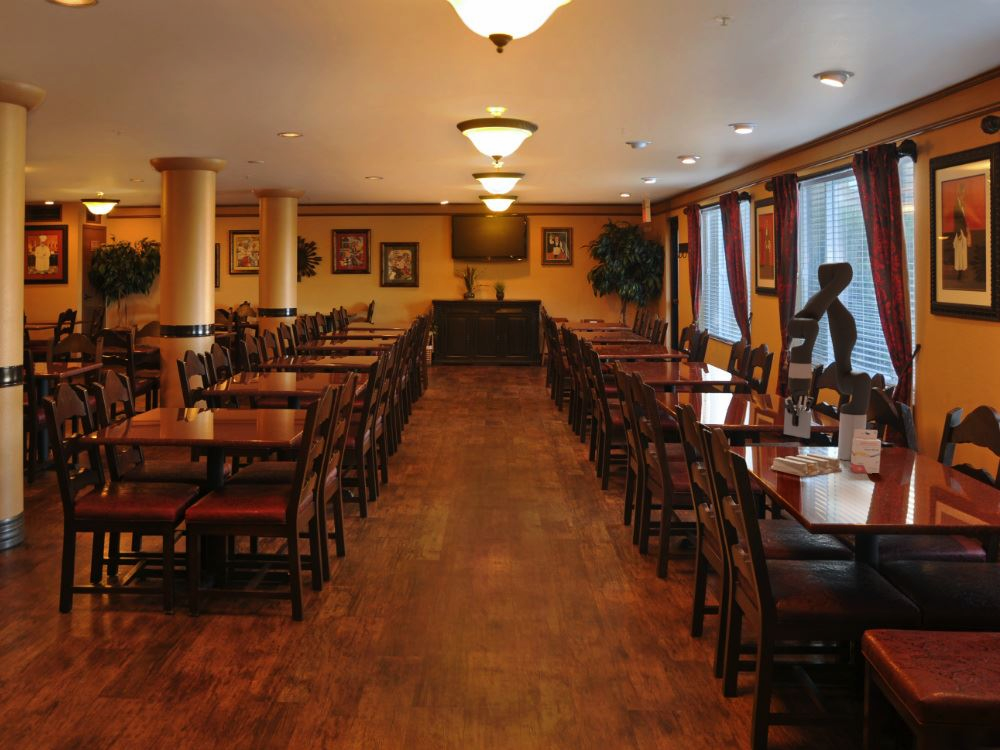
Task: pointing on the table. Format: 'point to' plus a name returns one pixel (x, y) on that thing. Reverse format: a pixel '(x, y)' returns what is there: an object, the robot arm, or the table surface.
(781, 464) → the rack
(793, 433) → the panel
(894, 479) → the table surface
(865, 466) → the ink cartridge box
